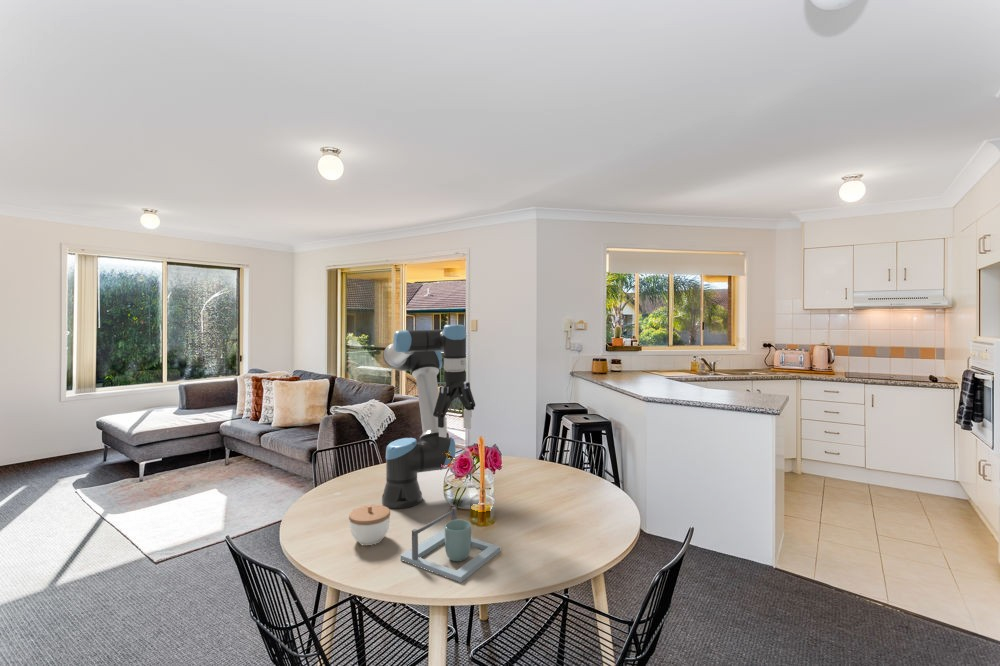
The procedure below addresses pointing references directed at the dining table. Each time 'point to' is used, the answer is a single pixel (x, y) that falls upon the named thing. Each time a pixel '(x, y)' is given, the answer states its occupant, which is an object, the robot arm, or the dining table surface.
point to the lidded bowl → (369, 523)
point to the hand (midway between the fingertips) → (455, 432)
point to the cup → (457, 539)
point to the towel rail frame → (438, 539)
